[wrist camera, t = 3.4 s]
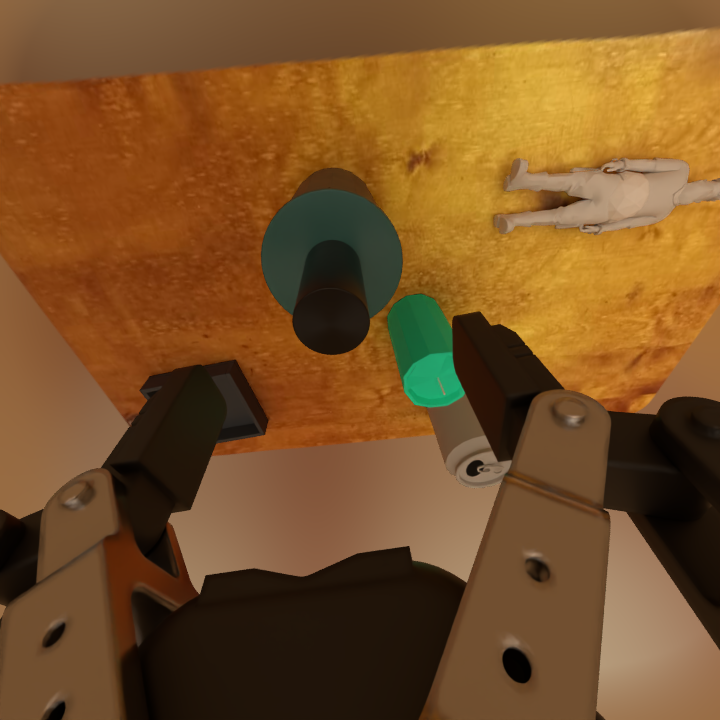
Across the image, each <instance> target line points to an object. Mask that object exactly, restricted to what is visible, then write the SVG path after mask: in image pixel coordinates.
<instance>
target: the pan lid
mask: <svg viewBox="0 0 720 720" xmlns="http://www.w3.org/2000/svg"><path fill="white" fill-rule="evenodd" d="M261 263H262V269H263V274H264V277H265V280H266V283H267V285H268V287H269V289H270V291H271V293H272V294H273V296H274V297H275V299H276V300H277V301H278V302H279V304H280V305H281V306H282V307H283V308H284V309H285V310H286V311H288V312H289V313H290V314H292V315H293V320H292V322H293V328H294V331H295V333H296V335H297V337H298V338H299V340H300V341H301V342H302V343H303V344H304V345H305V346H307V347H308V348H309V349H311V350H313V351H315V352H318V353H321V354H327V355H337V354H342V353H346V352H349V351H351V350H353V349H354V348H356V347H357V346H358V345H359V344H360V343H361V342H362V341H363V340H364V339H365V337H366V335H367V333H368V330H369V326H370V318H371V317H373V316H374V315H376V314H377V313H378V312H379V311H381V310H382V309H383V308H384V307H385V305H386V304H387V303H388V302H389V301H390V299H391V298H392V296H393V295H394V293H395V291H396V289H397V287H398V284H399V281H400V277H401V273H402V264H403V258H402V249H401V244H400V240H399V237H398V235H397V232H396V230H395V228H394V226H393V224H392V223H391V221H390V220H389V218H388V217H387V216H386V214H385V213H384V212H383V211H382V210H381V209H380V208H379V207H378V206H377V205H376V204H375V203H373V202H372V201H370V200H369V199H367V198H366V197H364V196H362V195H360V194H358V193H356V192H352V191H349V190H346V189H340V188H320V189H314V190H311V191H307V192H304V193H302V194H300V195H298V196H296V197H294V198H293V199H291V200H290V201H289V202H287V203H286V204H285V205H284V206H283V207H282V208H281V209H280V210H279V211H278V212H277V214H276V215H275V216H274V217H273V219H272V221H271V222H270V224H269V226H268V228H267V230H266V233H265V235H264V239H263V243H262V251H261Z"/></svg>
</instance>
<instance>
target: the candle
mask: <svg viewBox="0 0 720 720" xmlns="http://www.w3.org/2000/svg"><path fill="white" fill-rule="evenodd" d="M387 319H388V330H389V334H390V338H391V342H392V346H393V349H394V353H395V357H396V361H397V365H398V369H399V373H400V377H401V381H402V385H403V388H404V392H405V394H406V395H407V396H408V397H409V398H410V400H411V401H412V402H413V403H414V405H419V406H424V407H429V408H430V407H440V406H448V405H450V404H451V403H453V402H455V401H457V400H458V399H460V398H462V397H463V396H464V394H465V392H464V390H463V388H462V386H461V384H460V381H459V379H458V377H457V375H456V372H455V369H454V364H453V343H452V328H451V326H450V324H449V323H448V321H447V319H446V317H445V316H444V314H443V312H442V310H441V309H440V307H439V306H438V304H437V303H436V301H435V300H434V299H433V298H430V297H428V296H425V295H423V294H416V295H409V296H405V297H404V298H402V299H401V300H399V301H398V302H397V303H395V304H394V305H393V307H392V309H391V311H390V312H389V314H388V316H387Z"/></svg>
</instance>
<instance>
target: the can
mask: <svg viewBox="0 0 720 720" xmlns="http://www.w3.org/2000/svg"><path fill="white" fill-rule="evenodd" d="M427 410H428V413H429V416H430V419H431V422H432V425H433V428H434V432H435V435H436V437H437V441H438V444H439V447H440V450H441V453H442V456H443V459H444V462H445V465H446V468H447V470H448V471H449V472H450V474H452V475H454V476H456V480H457V481H458V482H459V483H460V484H462V485H464V486H466V487H471V488H485V487H490V486H493V485H496V484H499V483H501V482H502V480H503V477H504V475H505V473H508V471H509V468H510V465H511V462H512V460H509V461H503V462H498V461H497V459H496V457H495V455H494V453H493V451H492V449H491V446H490V444H489V442H488V440H487V438H486V436H485V434H484V432H483V430H482V428H481V426H480V423H479V421H478V419H477V417H476V415H475V413H474V411H473V409H472V407H471V405H470V402H469V400H468V398H467V396H466V394H464V396H463V397H462V398H460V399H458V400H457V401H455V402H453V403H451V404H450V405H448V406H440V407H430V408H429V407H427Z"/></svg>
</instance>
